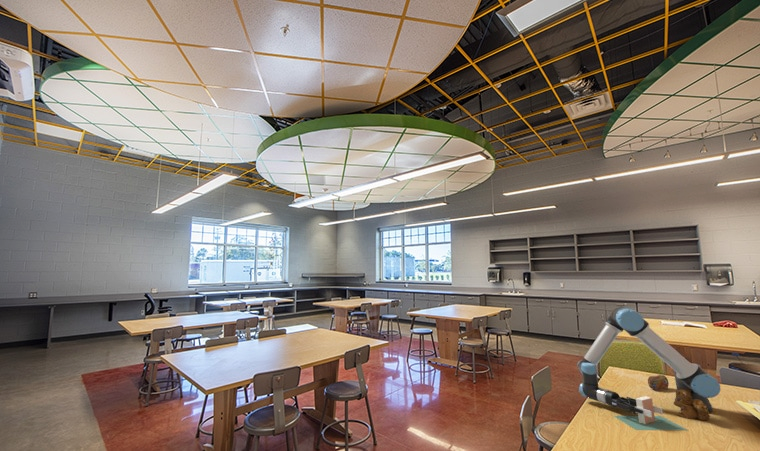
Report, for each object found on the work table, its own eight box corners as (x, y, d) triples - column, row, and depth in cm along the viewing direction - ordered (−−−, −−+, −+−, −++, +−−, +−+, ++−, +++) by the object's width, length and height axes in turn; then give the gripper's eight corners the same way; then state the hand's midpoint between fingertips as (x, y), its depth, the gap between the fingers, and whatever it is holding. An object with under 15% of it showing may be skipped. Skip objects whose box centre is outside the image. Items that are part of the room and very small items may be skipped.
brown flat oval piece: (653, 391, 203) (651, 377, 205) (647, 389, 206) (645, 375, 208) (670, 388, 207) (667, 374, 209) (664, 387, 210) (662, 373, 212)
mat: (660, 416, 166) (660, 415, 166) (688, 431, 150) (688, 430, 150) (613, 416, 167) (613, 415, 167) (636, 431, 151) (636, 430, 151)
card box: (648, 419, 162) (645, 396, 164) (655, 421, 160) (652, 397, 162) (639, 422, 159) (635, 398, 161) (645, 424, 157) (642, 400, 159)
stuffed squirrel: (682, 410, 173) (678, 385, 175) (717, 421, 160) (712, 393, 162) (672, 414, 169) (667, 387, 171) (707, 425, 156) (702, 396, 158)
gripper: (621, 401, 180) (670, 417, 159) (597, 407, 172) (644, 425, 152) (619, 387, 181) (667, 401, 161) (595, 393, 174) (642, 408, 153)
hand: (656, 412), depth 156 cm, fingers closed on card box, 8 cm apart
